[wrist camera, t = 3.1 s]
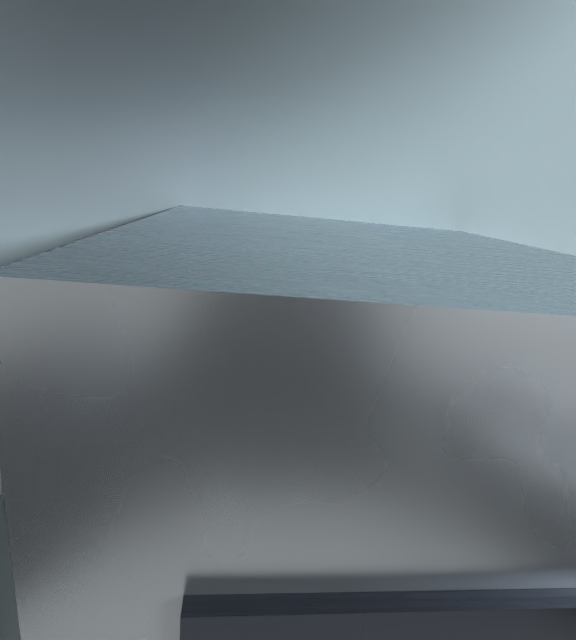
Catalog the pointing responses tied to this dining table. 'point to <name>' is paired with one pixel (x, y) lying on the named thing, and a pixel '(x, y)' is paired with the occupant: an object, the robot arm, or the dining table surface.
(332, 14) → the dining table surface
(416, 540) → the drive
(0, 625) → the dining table surface
